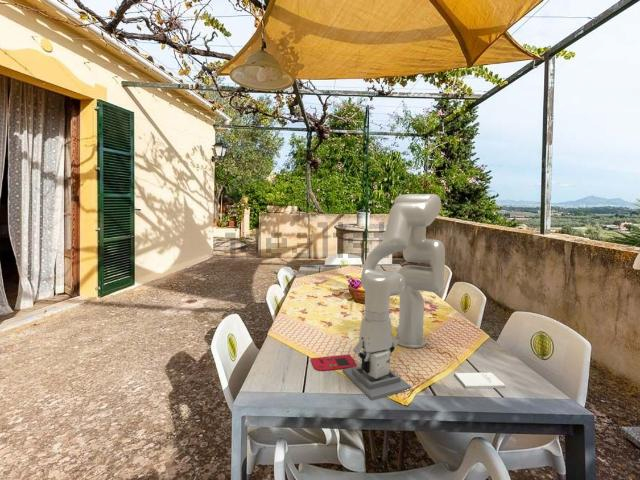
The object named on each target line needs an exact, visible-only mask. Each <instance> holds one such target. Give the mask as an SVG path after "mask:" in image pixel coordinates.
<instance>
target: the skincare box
mask: <svg viewBox="0 0 640 480" xmlns="http://www.w3.org/2000/svg"><path fill="white" fill-rule="evenodd" d="M366 353H367V352H366ZM389 354H390V352H389V351H386V350H382V351H377V352H372V353H371V354H370V356H369V359H368V361H369V362H370V366H369V373H368V375H370V376H372V377H373V378H375V379H377V378H379V377H382V376H384V375H387V374H389V369H390V364H389ZM365 355H366V354H365ZM363 372H365V371H363ZM365 373H366V372H365ZM366 374H367V373H366Z"/></svg>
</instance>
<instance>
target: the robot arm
mask: <svg viewBox="0 0 640 480" xmlns="http://www.w3.org/2000/svg"><path fill="white" fill-rule="evenodd" d="M441 209H442V201H441V198H440V196H439V195H438V194H434V193H408V194H399V195H398V196H395V198H394V204H393V205H392V206H391V208H390V211H389V214H388V219H387V222H386V223H387V224H386V227H385V232H384V237H383V240H382V241H381V242H380V243H378V244H377V245H376V246H375V247H374V248H373V249H372V250H371V251H370V252H369V254H367V256H366V258H365V261H364V264H363V267H362V272H361V279H360V284H361V287H362V289H363V290H364V317H363V318H362V319H361V323H360V328H359V333H358V335H359V337H358V343H357V344H356V345H355V346H354V348H353V349H352V350H353V352H354V353H355V354H356V355H357V356H358V357H359V358H360V359H362V369H363V371H365V372H366V373H367V374H368V373H369V366H370V362H369V361H368V359H369V356H370V354H371V353H372V352H377V351H382V350H386V351H389V352H390V354H389V365H390V363H391V362H390V361H391V356H392V354H393V352H394V351H395V348H396V347H397V345H399V346H401V347H405V348H410V349H420V348H423V347H426V345H427V343H428V341H427V339H426V337H424V315H425V314H424V313H425V312H424V311H425V299H424V297H423V295H422V293H421V292H420V291H422V292H429V293H439V292H441V291H442V290H443V288H444V282H445V265H446V264H445V263H446V248H445V245H444V243H443V242H442V241H441V240H439V239H431V238H427V237H426V236H427V235H426V234H427V233H426V231H427V227H428V226H430V225H431V224H432V223H433V222H434V221H435V219H437V217H438V216H439V215H440V212H441ZM401 251H402V255H403V256H402V257H403V259H404V260H405V261H407V262H410V263H419V264H426V265H427V264H429V265H430V266H421V265H412V264H411V265H410V264H407V265H403V266H402V267H400V268H399V269H398V272H397V271H389V270H381V269H376V268H377V265H378V264H379V263H380V261H381V260H384V259H385V258H386V257H388V256H391V255H393V254H396V253H398V252H401ZM398 295H399V308H398V309H399V311H398V312H399V316H398V317H399V318H398V320H399V321H398V326H397V327H395V328H394V331H396V332H397V335H396V336H395V337H394V336H393V327H392V326H393V324H392V321H391V318H390V314H392V311H393V310H392V309H391V308H390V297H394V296H398ZM361 349H362V350H361ZM366 352H367V353H366ZM365 354H366V355H365Z"/></svg>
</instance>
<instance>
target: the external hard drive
mask: <svg viewBox="0 0 640 480" xmlns="http://www.w3.org/2000/svg"><path fill="white" fill-rule="evenodd" d="M453 376H454V377H455V379H456V380H457V381H458V382H459V383H460V385H461V386H462V387H463V388H464V389H465V390H466V389H467V390H468V389H470V390H471V389H473V390H474V389H505V388H506V385H505V383H503V381H501V380H500V379H499V378H498V377H497V376H496V375H495V374H493V373H492V372H454V373H453Z"/></svg>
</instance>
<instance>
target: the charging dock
mask: <svg viewBox="0 0 640 480" xmlns="http://www.w3.org/2000/svg"><path fill="white" fill-rule="evenodd" d="M356 364H357V366H356V367H351V368H347V369H342V373H343V374H344V375H345V376H347V378H348V379H349V380H351V381H352V382H353V384H355V385H356V386H357V387H358V388H359V389H360V390H361V391H362V392H363V393H364V394H365V395H366V396H367V397H368V398H369V399H371V401H374V400H377V399H378V400H379V399H383V398H385V397H389V396H393V395H396V393H397V394H399V393H398V392H401V393H403V392H402V391H404V390H407V389H410V388H411V389H412V385H410V384H409V383H408V382H406V381H405V380H404V379H402V378H401V376H399V375H398V374H396V372H394V371H393V370H391V369H390V368H389V374H387V375H384V376H382V377H379V378H377V379H375V378H373V377H372V376H370V375H368V374H366V373H365V372H363V369H362V358H360V359H357V360H356ZM404 392H405V391H404Z"/></svg>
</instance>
